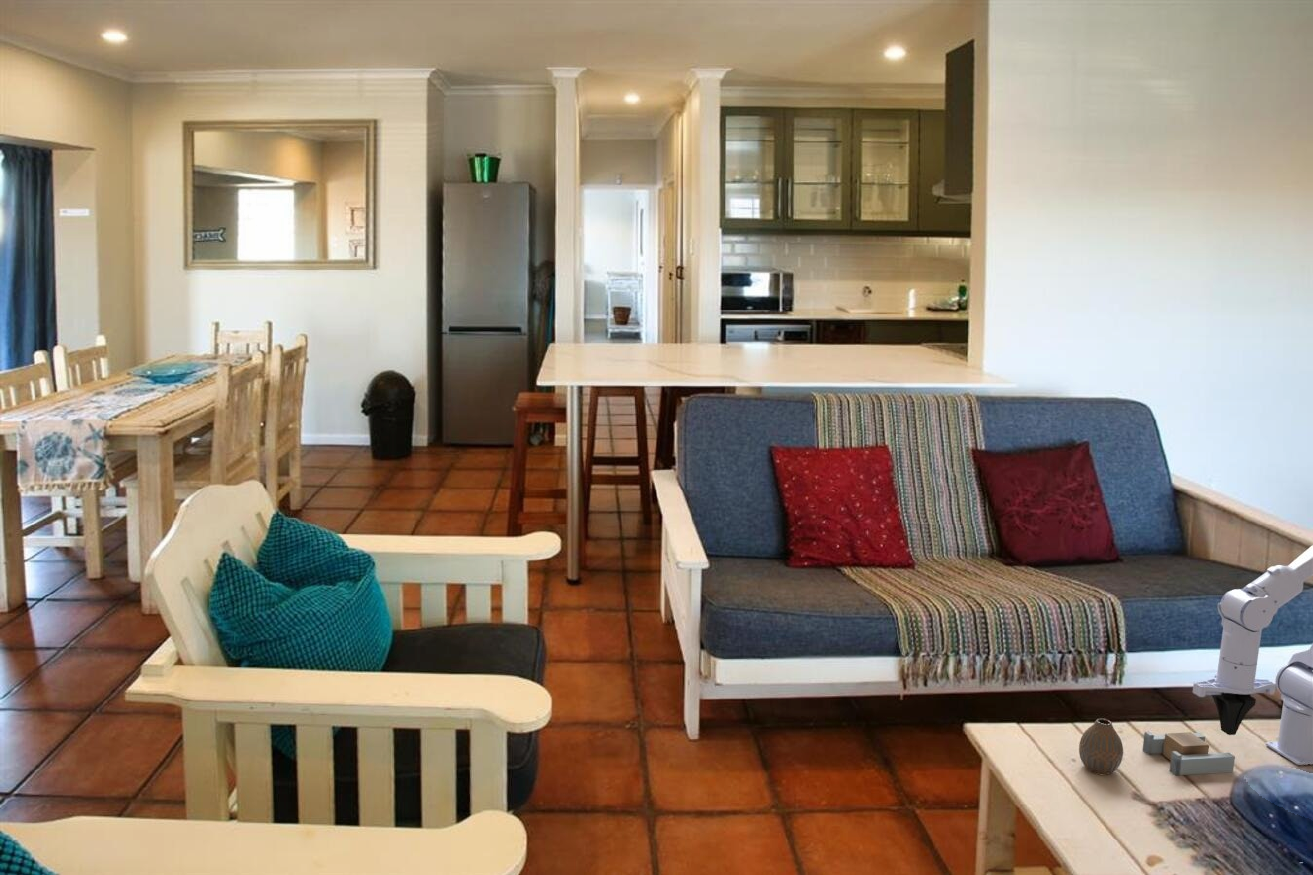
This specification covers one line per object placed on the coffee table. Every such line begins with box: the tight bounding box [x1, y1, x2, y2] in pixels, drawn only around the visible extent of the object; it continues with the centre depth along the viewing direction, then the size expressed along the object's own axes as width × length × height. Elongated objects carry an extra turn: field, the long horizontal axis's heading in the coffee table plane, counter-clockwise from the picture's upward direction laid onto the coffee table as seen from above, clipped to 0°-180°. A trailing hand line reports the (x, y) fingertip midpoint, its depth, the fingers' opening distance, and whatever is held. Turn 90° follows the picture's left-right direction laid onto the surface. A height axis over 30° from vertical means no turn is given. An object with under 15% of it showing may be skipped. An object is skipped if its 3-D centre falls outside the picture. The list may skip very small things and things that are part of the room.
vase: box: [1078, 718, 1124, 776], centre depth 174 cm, size 7×7×9 cm
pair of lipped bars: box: [1142, 730, 1236, 776], centre depth 178 cm, size 11×9×4 cm
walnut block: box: [1162, 732, 1210, 761], centre depth 178 cm, size 5×5×4 cm
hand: (1228, 732), depth 178 cm, fingers closed
